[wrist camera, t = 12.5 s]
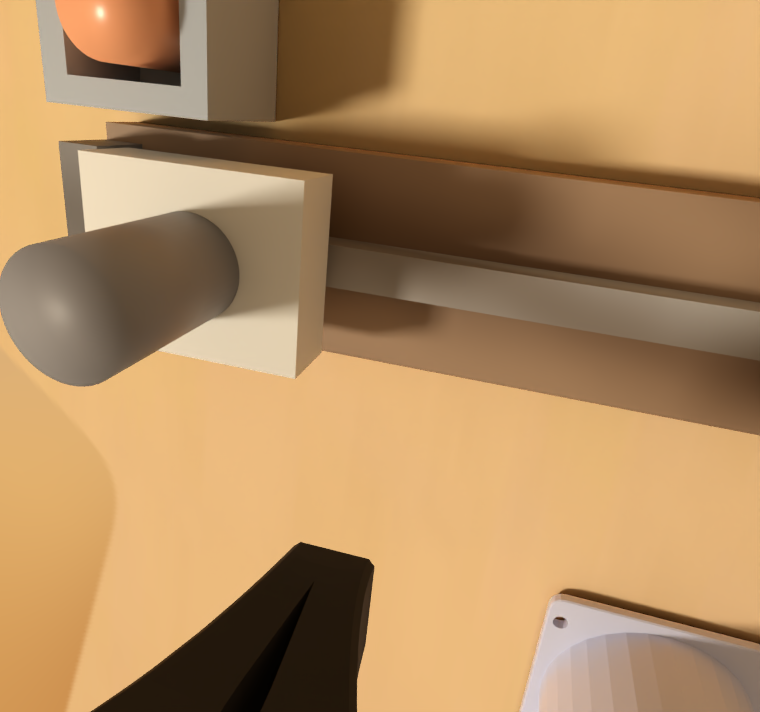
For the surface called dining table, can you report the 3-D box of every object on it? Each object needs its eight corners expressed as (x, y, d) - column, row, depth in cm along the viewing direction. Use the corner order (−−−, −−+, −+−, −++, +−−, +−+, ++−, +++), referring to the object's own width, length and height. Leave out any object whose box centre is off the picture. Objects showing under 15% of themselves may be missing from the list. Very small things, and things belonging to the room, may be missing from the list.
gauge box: (275, 121, 18) (207, 120, 14) (141, 105, 19) (46, 101, 15) (280, -58, 16) (204, -110, 13) (133, -66, 17) (23, -116, 14)
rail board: (821, 426, 17) (883, 493, 14) (146, 299, 22) (78, 329, 18) (913, 216, 15) (1011, 240, 12) (136, 122, 19) (56, 121, 16)
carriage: (321, 352, 17) (208, 465, 12) (138, 317, 18) (-47, 403, 13) (332, 174, 15) (204, 203, 10) (128, 147, 17) (-95, 159, 11)
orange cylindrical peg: (226, 77, 17) (152, 66, 14) (148, 70, 17) (60, 57, 14) (226, -25, 16) (146, -62, 13) (144, -30, 16) (48, -67, 13)
